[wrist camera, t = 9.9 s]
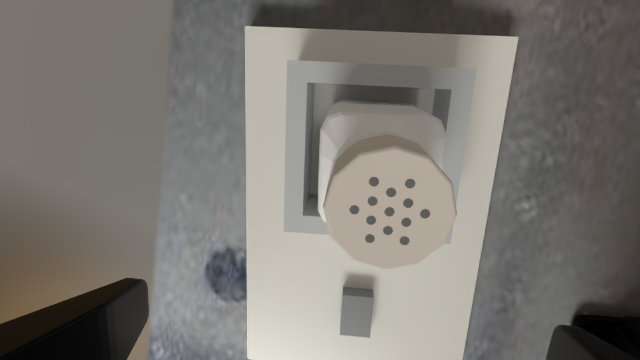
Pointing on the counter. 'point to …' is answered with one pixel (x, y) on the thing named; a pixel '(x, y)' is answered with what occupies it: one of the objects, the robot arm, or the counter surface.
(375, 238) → the pepper shaker
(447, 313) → the outlet plate
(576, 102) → the counter surface
